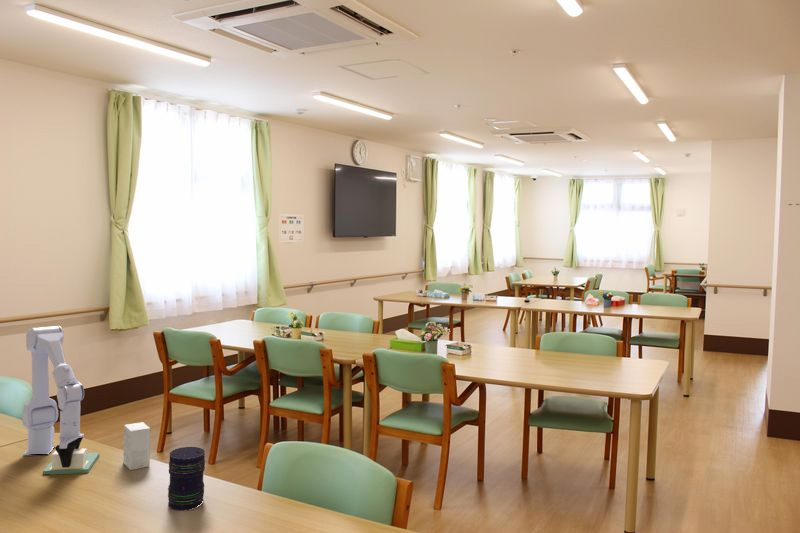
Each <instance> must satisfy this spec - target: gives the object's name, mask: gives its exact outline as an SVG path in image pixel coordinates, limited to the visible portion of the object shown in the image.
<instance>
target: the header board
mask: <svg viewBox="0 0 800 533" xmlns="http://www.w3.org/2000/svg"><path fill="white" fill-rule="evenodd" d="M99 457H100V452H87V462H86V463H85V465H84V466H83V467H74V468H52V460H51V461H50V462H49V463H48V464H47V465H46V467H45V468H44V469H43V470H42V475H43V474H50V475H70V474H72V475H73V474H87V473H88V474H89V472H90V470H91V469H92V467H94V464H95V463H96V461H97V460H98V459H99ZM97 458H98V459H97Z"/></svg>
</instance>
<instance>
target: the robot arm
mask: <svg viewBox="0 0 800 533" xmlns="http://www.w3.org/2000/svg"><path fill="white" fill-rule="evenodd" d="M64 338H65V332H64V328H62V326H61V325H51V326H41V327H30V328H29V329H28V331H27V332H26V336H25V339H26V340H25V342H26V344H25V345H26V351H29V352H31V384H32V385H31V387H32V391H31V392H32V395H31V396H32V398H31V399H29V400H28V401H27V402H26V403H25V404H23V407H22V414H21V421H22V425H23V426H24V427H25V428H27V449H26V451H25V452H23V454H22V456H30V455H29V454H48V455H49V453H50V452H51V453H52V452H53V450H54V449H55V451H57V453H58V454H59V457H60V460H61V464H62V467H70V465H71V460H72V455H73V451H74V449H80V445H81V443H82V441H83V438H84V436H85V433H81V402H82V401H83V400H84V398H85V389H84V386H83V383H81V382H80V381H79V380H77V378H76V375H75V373H74V370H73V368H72V366H71V364H67V361H66V358H65V355H64V351H63V346H62V345H63V342H64ZM49 360H50V363H51V364H52V366H53V370H52V372H51V374H52V376H53V379H54V381H55V384H56V388H57V390H56V391H57V393H56V398H57V402H58V403H57V402H56V400H55V399H53V398H50V394H49V393H50V392H49V389H50V386H49V385H50V384H49V379H50V378H49ZM57 404H58V405H57ZM58 409H60V410H58ZM58 418H59V435H58V439H59V444H57V446H56V447H55V448H54V447H52V446H53V445H54V444H55V427H54V426H55V423H56V422H57V421H58ZM53 448H54V449H53ZM25 453H26V454H25Z"/></svg>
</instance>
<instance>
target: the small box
mask: <svg viewBox="0 0 800 533" xmlns="http://www.w3.org/2000/svg"><path fill="white" fill-rule="evenodd" d="M123 429H124V430H123V455H122V456H123V458H122V462H123V464H124V465H125V466H126V467H127V469H129V470H130V471H132V470H138V469H143V468H147V467H150V463H151V462H150V460H151V459H150V458H151V456H150V455H151V427H150V426H148V425H147V423H145V422H143V421H141V422H134V423H127V424H124V428H123Z"/></svg>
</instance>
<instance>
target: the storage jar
mask: <svg viewBox="0 0 800 533" xmlns="http://www.w3.org/2000/svg"><path fill="white" fill-rule="evenodd" d="M205 454H206V450H205V449H204V448H201V447H198V446H185V447H178V448H176V449H173V450H172V451H170V452H169V458H168V460H169V462H168V474H169V484H168V487H167V497H168V500H167V501H168V504H167V505H168V508H170V510H173V511H179V512H182V511H183V512H184V511H185V510H186V511H190V510H189V509H192V508H195V507H197V506H198V505H200V504H201V503H202V501H203V502H204V494H205V483H204V472H205V465H206V459H205V456H206V455H205ZM195 509H196V508H195ZM192 510H193V509H192Z"/></svg>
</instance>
